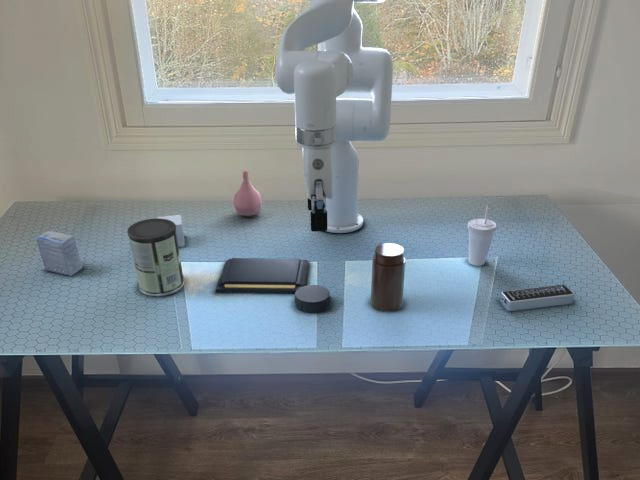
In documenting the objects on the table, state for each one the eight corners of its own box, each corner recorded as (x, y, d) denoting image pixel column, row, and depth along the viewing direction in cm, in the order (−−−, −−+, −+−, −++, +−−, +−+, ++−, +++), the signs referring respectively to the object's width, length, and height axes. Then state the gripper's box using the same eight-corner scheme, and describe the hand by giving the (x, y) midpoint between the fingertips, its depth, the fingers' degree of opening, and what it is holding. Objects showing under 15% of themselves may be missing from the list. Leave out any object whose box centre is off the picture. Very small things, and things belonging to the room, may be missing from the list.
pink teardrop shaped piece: (238, 208, 181) (234, 166, 174) (264, 209, 180) (262, 167, 173) (232, 220, 175) (227, 177, 168) (259, 221, 174) (256, 177, 167)
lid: (321, 292, 142) (320, 281, 141) (335, 308, 137) (335, 297, 135) (289, 299, 140) (289, 289, 139) (303, 316, 135) (303, 305, 133)
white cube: (161, 249, 162) (157, 226, 158) (160, 239, 166) (156, 217, 163) (185, 246, 162) (181, 224, 159) (183, 236, 167) (180, 214, 164)
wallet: (309, 255, 152) (303, 287, 140) (309, 262, 154) (303, 295, 141) (226, 253, 154) (213, 285, 142) (227, 260, 156) (214, 292, 143)
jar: (364, 305, 138) (366, 251, 130) (380, 292, 142) (383, 239, 134) (392, 315, 134) (395, 260, 127) (408, 301, 139) (412, 247, 131)
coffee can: (153, 271, 152) (142, 215, 144) (192, 277, 149) (184, 221, 141) (129, 293, 144) (117, 234, 136) (170, 299, 141) (160, 240, 133)
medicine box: (83, 268, 154) (74, 235, 149) (70, 277, 151) (61, 243, 146) (57, 262, 157) (48, 229, 152) (44, 271, 154) (34, 237, 148)
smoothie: (491, 269, 149) (500, 212, 141) (462, 267, 150) (470, 210, 142) (490, 256, 154) (499, 201, 146) (462, 255, 155) (470, 199, 147)
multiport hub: (572, 303, 136) (575, 294, 135) (508, 311, 134) (510, 302, 133) (562, 293, 140) (564, 283, 138) (499, 300, 138) (500, 291, 136)
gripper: (340, 149, 113) (340, 238, 123) (331, 119, 126) (332, 201, 137) (298, 151, 113) (301, 240, 123) (293, 120, 126) (296, 202, 137)
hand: (317, 219), depth 130 cm, fingers open, 9 cm apart
